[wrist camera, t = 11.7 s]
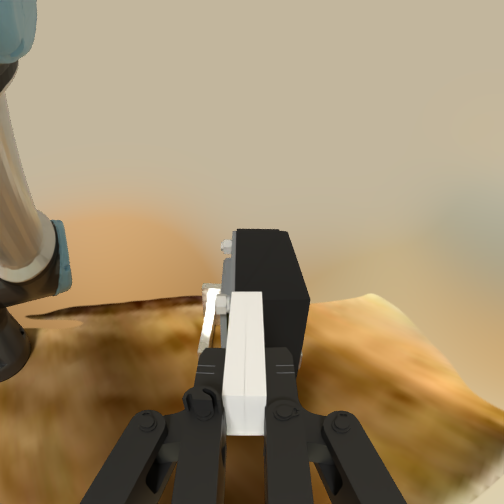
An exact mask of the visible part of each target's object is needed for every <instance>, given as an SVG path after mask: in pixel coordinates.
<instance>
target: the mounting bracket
mask: <svg viewBox="0 0 504 504" xmlns="http://www.w3.org/2000/svg"><path fill="white" fill-rule="evenodd" d="M221 285H222V284H208V283H203V286H202V299H203V313H204V324H203V329H202V333H201V338H200V343H199V348H198V361H199V356H200V354H201V353H202V352H203V350H204V349H205V348H211V347H212V341H213V334H214V328H215V325H220V314H217V313H216V310H215V306H214V305H215V298H216V295H217V294H221ZM229 315H230V313H229ZM301 360H302V351H301V357H300V362H299V367H298V369H300V366H301Z"/></svg>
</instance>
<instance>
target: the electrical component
mask: <svg viewBox="0 0 504 504" xmlns="http://www.w3.org/2000/svg"><path fill="white" fill-rule="evenodd" d="M221 251H223V252H224V254H232V256H231V258H226V259H225V260H224V263H223V275H222V285H221V294H217V295H216V298H215V305H214V306H215V310H216V313H217V314H220V326H221V348H226V346H227V335H228V325H229V313H230V304H231V294H232V292H262V305H263V327H264V348H273V347H287V349H288V350H289V351H290V353H291V354H292V356H293V364H294V371H295V378H296V377H297V372H298V367H299V362H300V357H301V351H302V346H303V340H304V334H305V329H306V323H307V317H308V311H309V305H310V297H309V294H308V291H307V288H306V285H305V282H304V279H303V276H302V273H301V270H300V267H299V264H298V261H297V258H296V255H295V252H294V249H293V246H292V243H291V240H290V238H289V235H288V232H286V231H279V230H278V229H237V231H233V236H232V240H224V242H221Z"/></svg>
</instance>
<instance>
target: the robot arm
mask: <svg viewBox="0 0 504 504" xmlns="http://www.w3.org/2000/svg"><path fill="white" fill-rule="evenodd" d="M36 1H37V0H0V382H1V381H4V380H6V379H8V378H10V377H11V376H13V375H14V374H16V373H17V372H18V371H19V370H20V369H21V368H22V367H23V365H24V364H25V363H26V361H27V359H28V357H29V354H30V350H31V344H30V341H29V338H28V336H27V334H26V332H25V330H24V329H23V328H22V326H21V325H20V324H19V323H18V322H17V321H16V320H15V319H14V318H13V316H12V315H11V314H10V313H9V312H8V310H7V308H6V307H9V306H13V305H16V304H20V303H24V302H28V301H32V300H36V299H40V298H44V297H48V296H56V295H58V294H59V293H62V292H65V291H68V290H69V289H70V287H71V285H72V276H71V269H70V265H69V263H70V262H69V254H68V248H67V241H66V235H65V229H64V225H63V223H62V221H60V220H49V218H48V217H47V216H46V215H45V214H43V213H42V212H41V211H39V210H37V209H36V208H35V205H34V202H33V199H32V196H31V193H30V191H29V188H28V184H27V181H26V178H25V175H24V171H23V168H22V165H21V161H20V158H19V154H18V150H17V146H16V142H15V138H14V134H13V129H12V125H11V120H10V116H9V111H8V105H7V100H6V94H5V90H6V89H7V88H8V86H9V85H10V84H11V82H12V81H13V79H14V77H15V75H16V73H17V70H18V59H19V58H21V57H23V56H24V55H26V54H27V53H28V52H29V51H30V49H31V47H32V44H33V41H34V37H35V31H36V21H37V8H36ZM182 399H183V403H184V407H185V409H184V410H183V411H181V412H179V413H175V414H170V415H165V416H162V415H161V414H160V413H158V412H157V411H153V410H144V411H141V412H139V413H137V414H136V415H135V416H134V417H133V418H132V419H131V421H130V423H129V424H128V426H127V427H126V429H125V431H124V432H123V434H122V435H121V437H120V439H119V440H118V442H117V443H116V445H115V447H114V448H113V450H112V452H111V453H110V455H109V456H108V458H107V460H106V461H105V463H104V465H103V466H102V468H101V470H100V471H99V473H98V474H97V476H96V478H95V479H94V481H93V483H92V484H91V486H90V488H89V489H88V491H87V493H86V494H85V496H84V497H83V499H82V501H81V502H80V504H157V503H158V501H159V499H160V497H161V495H162V492H163V490H164V488H165V486H166V484H167V482H168V480H169V478H170V476H171V474H172V471H173V469H174V467H175V465H176V463H177V469H176V475H175V482H174V489H173V495H172V502H171V504H224V491H225V472H226V453H227V445H226V433H227V435H264V453H263V456H264V478H265V504H314V503H313V494H312V485H311V476H310V467H309V461H311V462H314V464H315V466H316V469H317V471H318V473H319V475H320V478H321V480H322V482H323V484H324V487H325V489H326V491H327V493H328V496H329V498H330V500H331V502H332V504H407V503H406V501H405V500H404V498H403V496H402V494H401V493H400V491H399V489H398V487H397V486H396V484H395V482H394V481H393V479H392V477H391V475H390V474H389V472H388V470H387V469H386V467H385V465H384V463H383V462H382V460H381V458H380V457H379V455H378V453H377V451H376V450H375V448H374V446H373V445H372V443H371V441H370V439H369V438H368V436H367V434H366V433H365V431H364V429H363V427H362V426H361V424H360V422H359V421H358V419H357V418H356V417H355V416H354V415H353V414H351V413H349V412H346V411H334V412H332V413H330V414H328V416H322V415H317V414H313V413H310V412H308V411H306V410H305V409H304V408H303V407H302V406H301V404H300V403H299V400H298V393H297V386H296V378H295V371H294V364H293V356H292V354H291V353H290V351H289V350H288V349H287V347H273V348H264V327H263V305H262V292H232V294H231V304H230V315H229V325H228V335H227V346H226V348H205V349H204V350H203V352H202V353H201V354H200V356H199V361H198V366H197V373H196V377H195V383H194V387H193V388H191V389H189V390H188V391H187V392H186V393H185V394H184V396H183V398H182ZM177 461H178V462H177Z"/></svg>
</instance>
